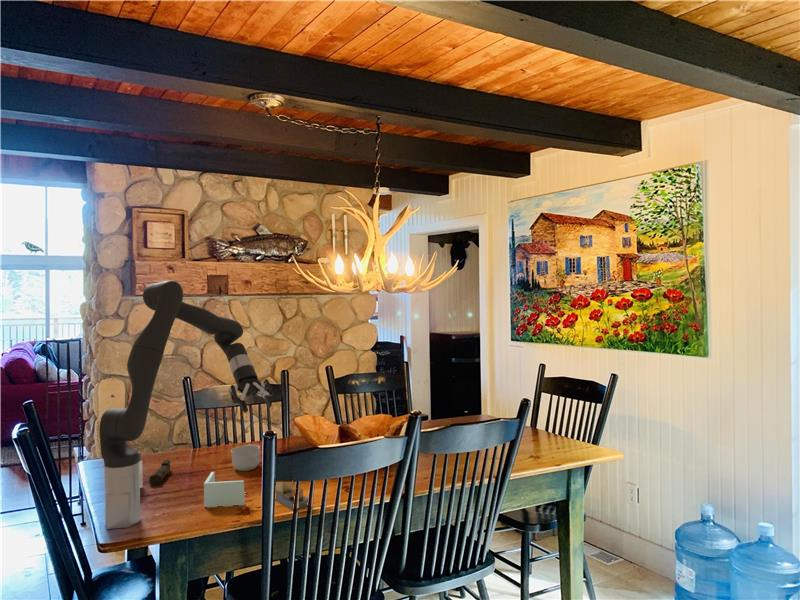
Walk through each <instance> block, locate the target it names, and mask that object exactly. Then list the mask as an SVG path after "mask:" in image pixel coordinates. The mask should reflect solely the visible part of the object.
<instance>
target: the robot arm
mask: <svg viewBox="0 0 800 600" xmlns="http://www.w3.org/2000/svg"><path fill="white" fill-rule="evenodd" d="M142 299H143V303H144V304H145V305H146V307H147V308H148V309H150V310H151V311H154V313H153V315H152V317H151V319H150V321H149V322H148V323H147V325H145V327H144V328H143V330H141V332H140V333H139V335H138V336H137V337H136V338H135V340H134V341H133V344H132V347H131V349H130V352H129V355H128V359H127V362H126V364H127V365H126V367H127V374H128V376H129V380H130V384H131V397H130V399H129V403H128V406H127V408H126V407H125V408H124V407H111V408H108V409H107V410H105V411H104V412H103V413H102V415H101V418H100V422H99V427H98V429H99V442H100V454H101V458H102V460H103V462H104V463H103V465H104V468H103V470H104V474H103V475H104V515H105V516H104V520H105V522H104V523H105V527H106V526H107V527H106V529H107V530H108V529H109V530H111V529H123V528H125V529H126V528H130V527H132V526H134V525H136V524H138V523H140V521H141V488H140V474H139V453H138V451H139V450H136V449H134V448H133V447H131V446H130V445H129V444H128V443H127V442H134V441H136V440H137V439H139V438H140V437H141V435H142V434H143V432H144V429H145V426H146V423H147V418H148V413H149V408H150V403H151V398H152V394H153V390H154V387H155V382H156V379H157V376H158V372H159V369H160V367H161V364H162V360H163V358H164V357H163V356H164V353H165V349H166V347H167V343H168V339H169V336H170V334H171V330H172V327H173V325H174V322H175V320H176V319H178V320H181V321H182V322H184V323H187V324H188V325H189V324H190V325H191V326H193V327H195V328H196V329H199V330H201V331H202V332H204V333H206V334H208V335H213V339H214V341H215V343H216V344H217V345H218V347H220V349H221V351H223V353H224V354H225V356H226V359H227V362H228V364H229V367H230V373H231V374H232V376H233V379H234V382H235V384H236V385H234V384H231V385H230V387H229V390H228V391H229V395H230V398H231V402H232V403H233V404H238V405H239V407H240V410H241V411H242V412H243V413H245V414H246V413H248V411H249V408H248V405H247V403H246V400H245V398H246V397H251V396H258V397H262V398H263V399H264V402H265V405H266V407H267V409H271V407H272V405H273V401H272V399H271V397H273V394H274V393H275V391H274V389H273V388H272V386H271V384H270V382H269V379H265V378H264V380H263V381H260V379H259V377H258V375H257V373H256V370H255V367H254V365H253V362H252V360H251V358H250V357H249V355H248V352H247V349H246V347H245V345H244V344H243V343H241V342H236V341H237V340H238V339H240V338H241V337H242V336H243V334H244V328H243V326H242V325H241V324H240V322H238V321H236V320H234V319H231V318H227V317H224V316H223V317H222V316H218V315H216V314H215V313H213V312H211V311H210V310H207V309H206V308H204V307H200V306H197V305H194V304H190V303H186V302H184V301H183V300H184V290H183V287H182V285H181V284H180V283H179V282H178V281H175V280H165V281H160V282H156V283H151V284H149V285H147V286H146V287H145V288H144V290H143V292H142ZM237 392H240V393H241V395H240V397H239V396H238V394H237Z"/></svg>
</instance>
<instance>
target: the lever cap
mask: <svg viewBox="0 0 800 600" xmlns="http://www.w3.org/2000/svg"><path fill="white" fill-rule="evenodd" d="M293 483H294V482H293V481H292V482H276V485H275V491H276V492H278V493H280V494H281V495H283V494H286V493H290V492H293V489H294V487H293V485H294V484H293Z"/></svg>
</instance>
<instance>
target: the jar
mask: <svg viewBox="0 0 800 600" xmlns="http://www.w3.org/2000/svg"><path fill="white" fill-rule="evenodd" d="M137 451H138V453H139V474H140V489H142V488H143V460H142V452H141V451H139V450H137Z"/></svg>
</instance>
